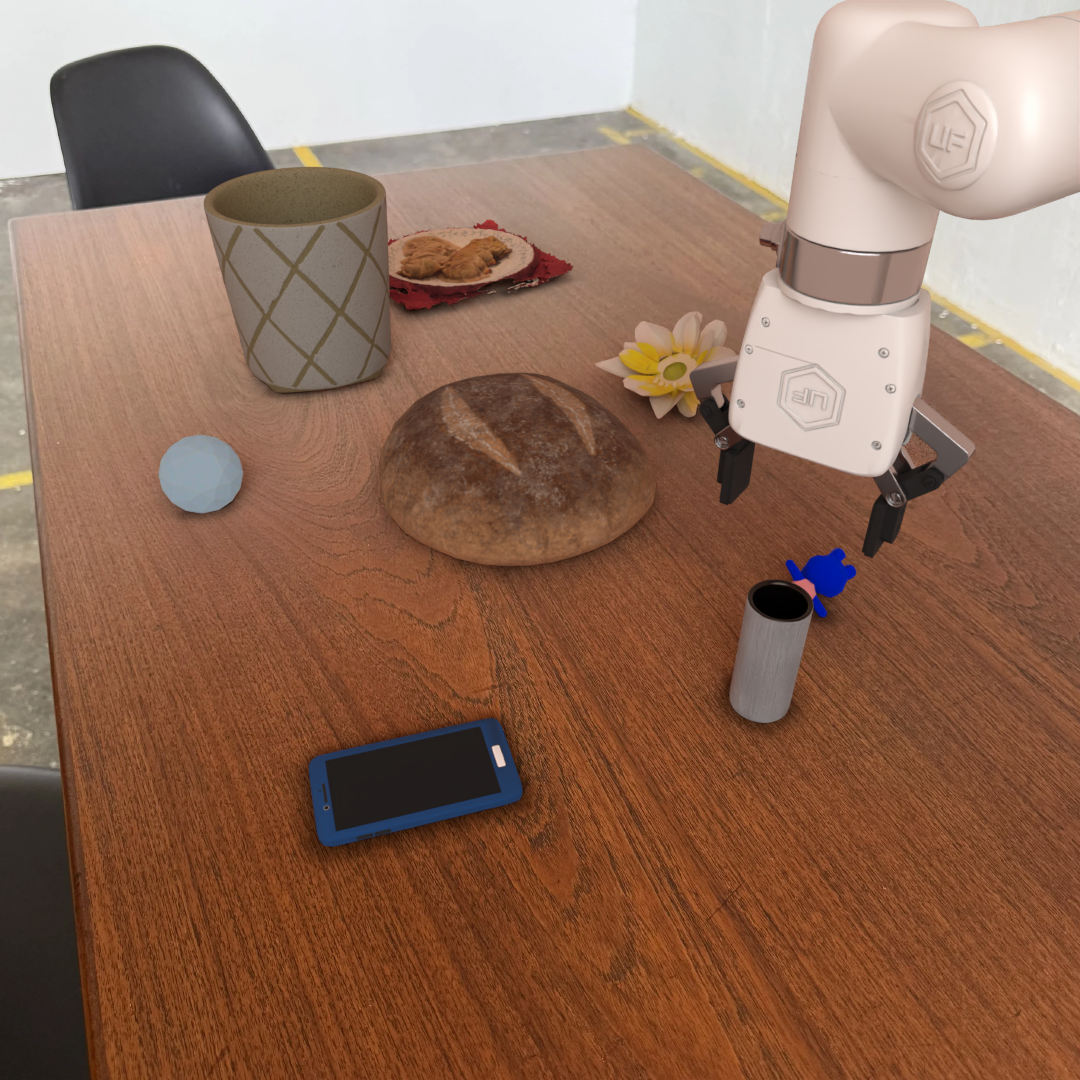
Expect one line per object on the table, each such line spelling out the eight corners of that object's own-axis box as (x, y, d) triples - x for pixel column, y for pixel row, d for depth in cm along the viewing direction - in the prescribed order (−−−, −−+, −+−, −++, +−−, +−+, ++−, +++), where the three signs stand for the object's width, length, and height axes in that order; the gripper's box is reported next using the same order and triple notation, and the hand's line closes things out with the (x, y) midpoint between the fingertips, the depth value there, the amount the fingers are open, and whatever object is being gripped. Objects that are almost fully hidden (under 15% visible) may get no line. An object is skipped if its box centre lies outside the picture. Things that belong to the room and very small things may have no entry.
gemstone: (161, 443, 95) (155, 432, 90) (243, 442, 97) (241, 431, 92) (164, 520, 94) (158, 513, 90) (246, 518, 96) (244, 510, 92)
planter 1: (417, 386, 111) (403, 214, 98) (247, 414, 106) (210, 236, 93) (382, 317, 125) (366, 159, 113) (231, 339, 120) (197, 175, 108)
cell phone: (526, 800, 66) (526, 793, 65) (319, 851, 63) (318, 844, 62) (498, 721, 71) (498, 714, 71) (307, 764, 68) (306, 757, 68)
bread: (439, 615, 81) (431, 521, 74) (348, 455, 99) (335, 370, 93) (703, 534, 89) (715, 444, 83) (573, 402, 108) (575, 320, 102)
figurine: (853, 598, 82) (865, 555, 79) (801, 641, 78) (811, 597, 75) (807, 572, 85) (817, 529, 82) (754, 612, 81) (762, 569, 78)
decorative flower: (576, 364, 111) (600, 283, 106) (654, 364, 117) (681, 287, 111) (642, 434, 102) (673, 349, 96) (724, 431, 107) (758, 350, 102)
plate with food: (575, 280, 135) (576, 256, 133) (410, 317, 124) (408, 292, 122) (491, 229, 151) (490, 207, 149) (337, 258, 140) (335, 235, 138)
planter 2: (784, 730, 71) (809, 628, 65) (723, 714, 72) (741, 612, 66) (793, 688, 74) (818, 587, 68) (735, 673, 75) (753, 572, 69)
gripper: (676, 249, 53) (655, 502, 64) (999, 325, 45) (916, 601, 56) (736, 212, 58) (709, 453, 69) (1039, 274, 50) (955, 537, 61)
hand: (802, 519), depth 62 cm, fingers open, 9 cm apart
